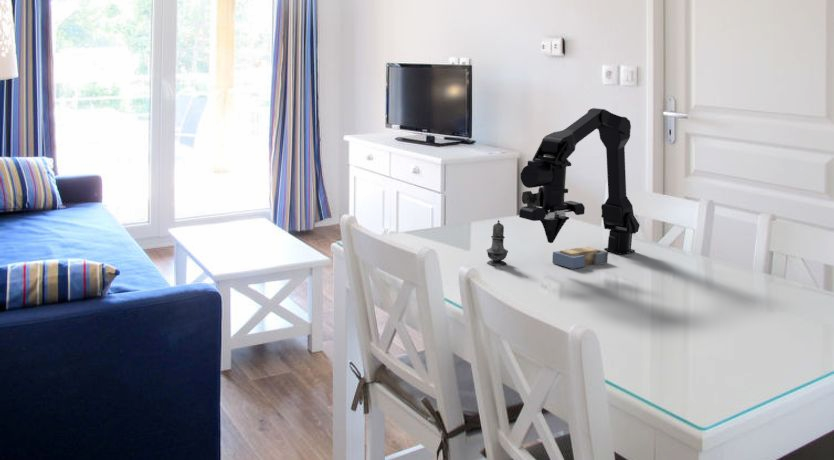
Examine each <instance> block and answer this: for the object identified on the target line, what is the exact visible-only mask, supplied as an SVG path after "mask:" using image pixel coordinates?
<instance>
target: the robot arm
mask: <svg viewBox="0 0 834 460" xmlns="http://www.w3.org/2000/svg"><path fill="white" fill-rule="evenodd" d="M631 129H632V125H631V121H630V119H628V118H627V117H626V116H621V115H618V114H615V113H612V112H610V111H609V110H607V109H605V108H597V107H592V108H590V109H589V110H587V112H586V113H585V114H584V115H582V116H581V117H579V118H578V119H577V120H576V121H574V122H573V123H571V124H570V125H569V126H567V127H565V129H563V130H558V131H554V132H550V133H549V134H547V135H545V136H544V137H543V138H542V140H541V142H540V144H539V146H538V148H537V150H536V152H535V154H534V155H533V158H532V160H528V161H527V165H526V166H524V167H523V169H522V170H521V171H520V181H521V183H522V185H523V186H524V187H526V188H527V189H531V188H538V192H535V193H533V192H532V191H531V190H527V191H522V194H521V202H522V204H523V205H526V206H522V207H521V208H519V212H518V214H519V216H518V217H519V218H521V219H525V220H529V221H532V222H538V221H540V223H541V224H542V227H543V230H544V233H545V236H546V240H547V243H550V244H553V243H554V241H555V239H556V238H557V237H558V234H559V233H560V231H561V230H562V228H563V227H564V225H565V223H566V222H567V220H569V219H570V217H569V216H566V213H572V212H573V213H574V214H575V216H580V215H581V216H582V215H584V214H585V205H584V204H583V203H582V202H577V201H575V200H574V201H572V200H567V201H565V194H568V193H569V188H566V180H567V179H566V178H567V176H566V175H567V168H568V167H571V166H572V163H571V161H569V160H568V158H569V157H570V156H571V155H572V154H573V153H574V152H575V150H576V146H577V145H578V143H580V142H581V141H582V140H584V139H585V138H586V137H587V136H589V135H590V134H592V133H593V132H594V131H596V130H598V133H599V139H600V141H601V143H602V144H603V146H604V147H605V151H606V153H605V154H606V169H607V170H606V174H607V194H608V195H607V199H606V200H605V202H604V203H601V206H600V207H601V216H600V217H601V218H602V220H603V222H602V223H603V229H605V230H609V233H608V234H609V235H608V240H607V242H608V243H607V247H605V248H603V251H605V252H610V253H614V254H617V255H625V254H631V253H636V250H635V249H633V248H632V241H633V235H634V234H637V233H638V232H639V230H640V222H639V221H638V219H637V218H636V217H635V215H634V207H633V204H632V203H631V201H630V199H629V197H627V179H626V175H627V174H626V154H625V153H626V152H625V151H626V150H625V149H626V148H625V147H626V145H627V144H628V141H629V140H630V137H631Z"/></svg>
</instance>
